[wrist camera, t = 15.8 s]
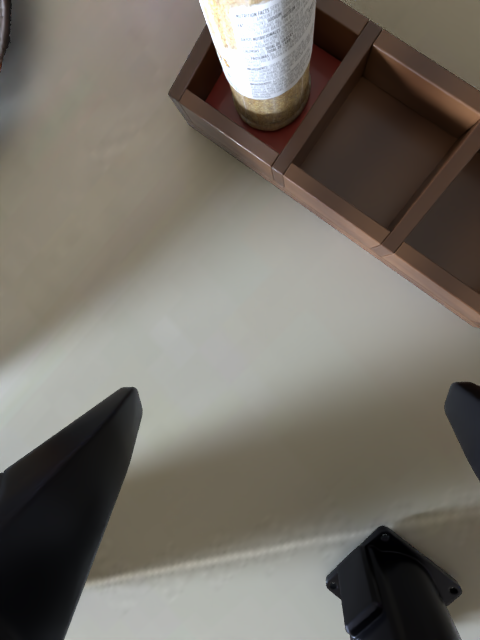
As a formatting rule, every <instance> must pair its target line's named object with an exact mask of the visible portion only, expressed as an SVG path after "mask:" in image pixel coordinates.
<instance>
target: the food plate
mask: <svg viewBox="0 0 480 640" xmlns="http://www.w3.org/2000/svg"><path fill="white" fill-rule="evenodd" d="M11 6H12V5H11V0H0V72H1V67H2V61H3V57H4V55H5V52H6V49H7V48H8V45H9V43H11V42H10V36H9V34H10V26H11V24H10V22H11V16H10V15H11V10H10V9H12V8H11Z"/></svg>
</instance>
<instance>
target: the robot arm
mask: <svg viewBox="0 0 480 640" xmlns="http://www.w3.org/2000/svg"><path fill="white" fill-rule="evenodd" d="M444 409H445V413H446V415H447V418H448V420H449V422H450V424H451V426H452V428H453V430H454V432H455V435H456V437H457V439H458V441H459V443H460V445H461V447H462V449H463V451H464V454H465V456H466V458H467V460H468V462H469V464H470V465H471V467H472V469H473V471H474V473H475V474H476V476H477V478H478V479H479V481H480V386H477V385H475V384H473V383H471V382H454V383H452V384H451V386H450V389H449V392H448V395H447V398H446V401H445V405H444ZM141 418H142V405H141V401H140V398H139V394H138V391H137V389H136V388H135V387H123V388H120V389H119V390H117V391H116V392H115V393H113V394H112V395H110V396H109V397H108V398H106V399H105V400H103V401H102V402H100V403H99V404H98V405H96V406H95V407H93V408H92V409H91V410H89V411H88V412H86V413H85V414H83V415H82V416H81V417H79V418H78V419H76V420H75V421H74V422H72V423H71V424H69V425H68V426H67V427H65V428H64V429H62V430H61V431H59V432H58V433H57V434H55V435H54V436H52V437H51V438H50V439H48V440H47V441H45V442H44V443H42V444H41V445H40V446H38V447H37V448H35V449H34V450H33V451H31V452H30V453H28V454H27V455H25V456H24V457H23V458H21V459H20V460H18V461H17V462H16V463H14V464H13V465H11V466H10V467H8V468H7V469H6V470H5V471H4V473H0V640H64V638H65V636H66V633H67V630H68V628H69V625H70V622H71V620H72V617H73V614H74V612H75V609H76V606H77V604H78V601H79V598H80V596H81V593H82V590H83V588H84V585H85V582H86V580H87V577H88V574H89V572H90V569H91V566H92V564H93V561H94V558H95V556H96V553H97V550H98V548H99V545H100V542H101V540H102V537H103V534H104V532H105V529H106V526H107V524H108V521H109V518H110V516H111V513H112V510H113V508H114V505H115V502H116V500H117V497H118V494H119V492H120V489H121V486H122V484H123V481H124V478H125V476H126V473H127V470H128V467H129V464H130V461H131V457H132V453H133V449H134V445H135V442H136V438H137V434H138V430H139V426H140V422H141ZM383 534H387V535H386V536H382V535H383ZM326 586H327V588H328V589H329V590H330V591H331V592H332V593H334V594H335V595H336V596H337V597H338V598H340V599H341V601H342V608H343V615H344V622H345V629H346V632H347V633H348V634H350V640H461V638H460V635H459V633H458V631H457V629H456V627H455V624H454V622H453V620H452V618H451V616H450V613H449V611H448V609H447V606H448V605H449V604H450V603H452V602H453V601H454V600H455V599H456V598H458V597H459V596H460V595H461V594H462V590H461V588H460V586H459V584H458V582H457V581H456V580H455V579H453V578H452V577H451V576H450V575H448V574H447V573H446V572H444V571H443V570H442V569H441V568H439V567H438V566H437V565H435V564H434V563H433V562H432V561H430V560H429V559H428V558H426V557H425V556H424V555H423V554H421V553H420V552H419V551H417V550H416V549H415V548H414V547H412V546H411V545H410V544H408V543H407V542H406V541H405V540H403V539H402V538H401V537H400V536H398V535H397V534H396V533H394V532H393V531H392V530H391V529H389V528H388V527H385V526H381V527H379V528H377V529H376V530H375V531H374V532H373V533H372V534H371V535H370V536H369V537H368V538H367V539H366V540H365V541H364V542H363V543H361V544H360V545H359V546H358V547H357V548H356V549H354V550H353V551H352V552H351V553H350V554H349V555H348V556H347V557H346V558H345V559H344V560H343V561H342V562H341V563H340V564H339V565H338V566H337V567H336V568H335V569H334V570H333V571H332V572H331V573H330V574H329V575H328V576H327V577H326ZM452 587H453V588H452Z"/></svg>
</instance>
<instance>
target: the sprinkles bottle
mask: <svg viewBox="0 0 480 640" xmlns="http://www.w3.org/2000/svg"><path fill="white" fill-rule="evenodd" d="M199 1H200V4H201V7H202V11H203V13H204V16H205V19H206V22H207V25H208V27H209V30H210V33H211V36H212V39H213V42H214V45H215V48H216V51H217V54H218V57H219V60H220V62H221V65H222V68H223V71H224V74H225V76H226V78H227V80H228V82H229V84H230V87H231V90H232V97H233V102H234V105H235V108H236V110H237V112H238V114H239V115H240V117H241V118H242V120H243V121H244V122H245V123H247V124H248V125H249V126H251V127H253V128H256V129H259V130H264V131H275V130H278V129H280V128H283V127H285V126H287V125H289V124H290V123H292V122H293V121H294V120H295V119H296V118H297V117H298V116H299V115H300V114H301V113H302V111H303V109H304V107H305V105H306V103H307V101H308V98H309V94H310V88H311V76H310V71H309V66H310V58H311V53H312V46H313V33H314V21H315V8H316V0H199Z"/></svg>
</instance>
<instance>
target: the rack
mask: <svg viewBox="0 0 480 640" xmlns="http://www.w3.org/2000/svg"><path fill="white" fill-rule="evenodd" d="M368 21H369V19H368V18H366V17H365V16H363V15H362V14H360V13H359V12H357V11H355V10H354V9H352V8H351V7H349V6H348V5H346V4H345V3H343V2H342V1H340V0H316V8H315V21H314V33H313V46H312V53H311V58H310V66H309V71H310V76H311V88H310V94H309V98H308V101H307V103H306V105H305V107H304V109H303V111H302V113H301V114H300V115H299V116H298V117H297V118H296V119H295V120H294V121H293V122H292V123H290V124H289V125H287V126H285V127H283V128H280V129H278V130H275V131H264V130H259V129H256V128H253V127H251V126H249V125H248V124H247V123H245V122H244V121H243V120H242V118H241V117H240V115H239V114H238V112H237V110H236V108H235V105H234V102H233V97H232V90H231V87H230V84H229V82H228V80H227V78H226V76H225V74H224V71H223V68H222V65H221V62H220V60H219V57H218V54H217V51H216V48H215V45H214V42H213V39H212V36H211V33H210V30H209V27H208V25H207V24H206V26H205V27H204V29H203V31H202V33H201V35H200V37H199V38H198V40H197V42H196V44H195V46H194V47H193V49H192V51H191V53H190V55H189V56H188V58H187V60H186V62H185V64H184V65H183V67H182V69H181V71H180V73H179V74H178V76H177V78H176V80H175V82H174V84H173V85H172V87H171V89H170V91H169V93H168V95H169V97H170V98H171V100H172V101H173V102H174V104H175V105H176V107H177V108H178V110H179V111H180V112H181V114H182V115H183V117H184V118H185V120H186V121H187V123H188V124H189V125H190V126H192V127H193V128H194V129H196V130H197V131H199V132H200V133H201V134H203V135H204V136H206V137H207V138H208V139H210V140H211V141H213V142H214V143H215V144H217V145H218V146H220V147H221V148H223V149H224V150H225V151H227V152H228V153H230V154H231V155H232V156H234V157H235V158H237V159H238V160H239V161H241V162H242V163H244V164H245V165H246V166H248V167H249V168H251V169H252V170H253V171H255V172H256V173H258V174H259V175H261V176H262V177H263V178H265V179H266V180H268V181H269V182H270V183H272V184H273V185H275V186H276V187H277V188H279V189H280V190H282V191H283V192H284V193H286V194H287V195H289V196H290V197H291V198H293V199H294V200H296V201H297V202H299V203H300V204H301V205H303V206H304V207H306V208H307V209H308V210H310V211H311V212H313V213H314V214H315V215H317V216H318V217H320V218H321V219H322V220H324V221H325V222H327V223H328V224H329V225H331V226H332V227H334V228H335V229H337V230H338V231H339V232H341V233H342V234H344V235H345V236H346V237H348V238H349V239H351V240H352V241H353V242H355V243H356V244H358V245H359V246H360V247H362V248H363V249H365V250H366V251H367V252H369V253H370V254H372V255H373V256H375V257H376V258H377V259H379V260H380V261H382V262H383V263H384V264H386V265H387V266H389V267H390V268H391V269H393V270H394V271H396V272H397V273H398V274H400V275H401V276H403V277H404V278H406V279H407V280H408V281H410V282H411V283H413V284H414V285H415V286H417V287H418V288H420V289H421V290H422V291H424V292H425V293H427V294H428V295H429V296H431V297H432V298H434V299H435V300H436V301H438V302H439V303H441V304H442V305H444V306H445V307H446V308H448V309H449V310H451V311H452V312H453V313H455V314H456V315H458V316H459V317H460V318H462V319H463V320H465V321H466V322H467V323H469V324H470V325H472V326H474V327H478V328H480V91H479V90H477V89H476V88H474V87H472V86H471V85H469V84H468V83H466V82H465V81H463V80H462V79H460V78H459V77H457V76H455V75H454V74H452V73H451V72H449V71H448V70H446V69H445V68H443V67H442V66H440V65H438V64H437V63H435V62H434V61H432V60H431V59H429V58H428V57H426V56H425V55H423V54H421V53H420V52H418V51H417V50H415V49H414V48H412V47H411V46H409V45H408V44H406V43H404V42H403V41H401V40H400V39H398V38H397V37H395V36H394V35H392V34H391V33H389V32H387V31H386V30H384V29H383V30H382V28H381V27H380V26H378V25H377V24H375V23H373V22H372V21H369V22H368Z"/></svg>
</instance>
